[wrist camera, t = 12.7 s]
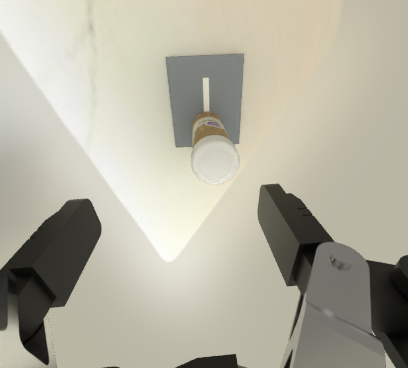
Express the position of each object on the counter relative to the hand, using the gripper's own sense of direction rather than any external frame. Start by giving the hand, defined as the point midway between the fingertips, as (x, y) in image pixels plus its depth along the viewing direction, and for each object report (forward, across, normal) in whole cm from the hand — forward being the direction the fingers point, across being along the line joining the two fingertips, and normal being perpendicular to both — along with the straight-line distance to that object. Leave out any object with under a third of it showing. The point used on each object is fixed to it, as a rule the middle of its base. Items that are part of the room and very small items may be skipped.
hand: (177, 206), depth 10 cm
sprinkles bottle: (+22, -3, +2) cm, 23 cm away
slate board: (+23, -3, 0) cm, 24 cm away
